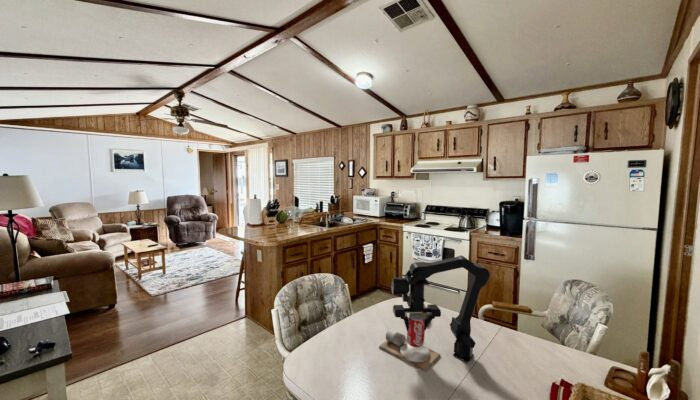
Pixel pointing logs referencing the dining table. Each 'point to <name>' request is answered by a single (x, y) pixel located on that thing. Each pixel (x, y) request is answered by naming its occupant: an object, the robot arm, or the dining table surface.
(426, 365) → the duct board
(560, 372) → the dining table surface
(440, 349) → the dining table surface
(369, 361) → the dining table surface
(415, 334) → the soda can
